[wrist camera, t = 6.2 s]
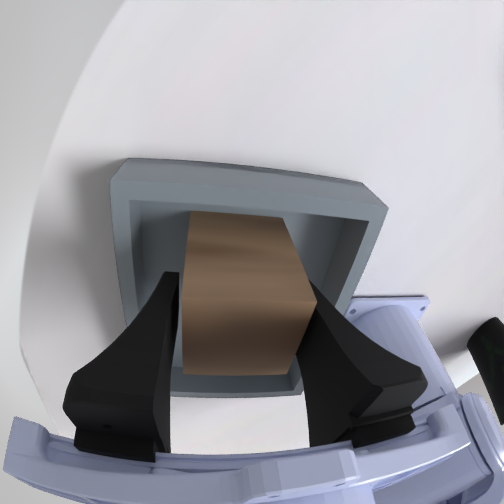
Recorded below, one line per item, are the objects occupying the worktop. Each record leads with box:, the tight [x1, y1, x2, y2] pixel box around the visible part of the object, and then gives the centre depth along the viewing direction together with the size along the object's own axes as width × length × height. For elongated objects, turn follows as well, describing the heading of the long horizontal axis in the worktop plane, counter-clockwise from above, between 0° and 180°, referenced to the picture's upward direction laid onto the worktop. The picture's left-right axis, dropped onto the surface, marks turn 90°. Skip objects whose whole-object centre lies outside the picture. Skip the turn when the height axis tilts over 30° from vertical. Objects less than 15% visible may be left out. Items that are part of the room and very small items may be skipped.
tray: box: [110, 158, 389, 398], centre depth 17 cm, size 16×12×3 cm
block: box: [182, 210, 317, 376], centre depth 13 cm, size 4×4×6 cm
